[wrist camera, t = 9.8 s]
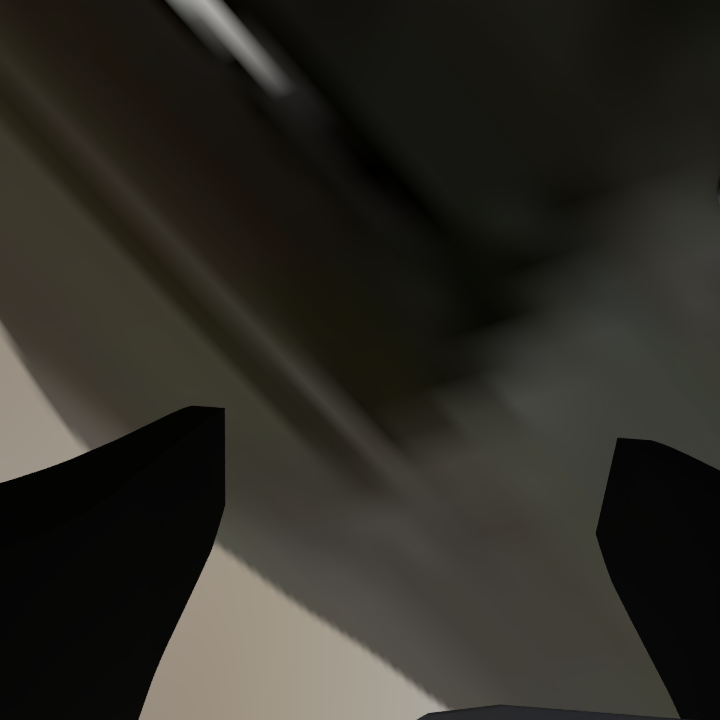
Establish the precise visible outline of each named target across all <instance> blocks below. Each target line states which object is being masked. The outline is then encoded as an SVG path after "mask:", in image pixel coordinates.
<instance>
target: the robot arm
mask: <svg viewBox="0 0 720 720" xmlns="http://www.w3.org/2000/svg"><path fill="white" fill-rule="evenodd" d="M718 197H719V203H720V191H719V196H718ZM224 507H225V408H216V407H203V406H189V407H185V408H183V409H180V410H178V411H176V412H173V413H171V414H169V415H167V416H165V417H163V418H161V419H159V420H157V421H154V422H152V423H150V424H148V425H146V426H144V427H142V428H140V429H138V430H136V431H134V432H132V433H130V434H128V435H125V436H123V437H121V438H119V439H117V440H115V441H112V442H110V443H108V444H105V445H103V446H101V447H98V448H96V449H94V450H91V451H89V452H87V453H84V454H82V455H80V456H78V457H75V458H73V459H71V460H68V461H65V462H63V463H60V464H58V465H54V466H52V467H49V468H46V469H43V470H40V471H37V472H34V473H31V474H28V475H25V476H22V477H19V478H16V479H13V480H9V481H6V482H2V483H0V720H138V719H139V716H140V714H141V711H142V708H143V705H144V702H145V699H146V696H147V693H148V690H149V687H150V685H151V682H152V679H153V677H154V674H155V672H156V669H157V667H158V665H159V662H160V660H161V657H162V655H163V653H164V651H165V648H166V646H167V644H168V642H169V640H170V638H171V636H172V634H173V631H174V629H175V627H176V625H177V623H178V621H179V619H180V617H181V614H182V612H183V610H184V608H185V606H186V604H187V602H188V600H189V598H190V596H191V593H192V591H193V589H194V587H195V585H196V583H197V581H198V579H199V576H200V574H201V572H202V570H203V568H204V566H205V563H206V561H207V559H208V557H209V555H210V552H211V550H212V547H213V544H214V541H215V538H216V534H217V531H218V528H219V525H220V521H221V518H222V514H223V511H224ZM596 536H597V539H598V542H599V546H600V549H601V552H602V555H603V558H604V561H605V564H606V567H607V570H608V573H609V575H610V578H611V581H612V583H613V585H614V587H615V589H616V591H617V593H618V595H619V597H620V599H621V601H622V603H623V605H624V607H625V609H626V611H627V613H628V615H629V617H630V619H631V621H632V623H633V625H634V627H635V629H636V631H637V633H638V634H639V636H640V638H641V640H642V642H643V644H644V646H645V648H646V650H647V652H648V654H649V656H650V658H651V659H652V661H653V663H654V665H655V667H656V669H657V671H658V673H659V675H660V677H661V679H662V681H663V683H664V685H665V686H666V688H667V690H668V692H669V694H670V696H671V699H672V701H673V703H674V705H675V707H676V709H677V712H678V714H679V716H680V718H681V719H676V718H663V717H651V716H638V715H625V714H613V713H600V712H588V711H575V710H563V709H550V708H537V707H525V706H512V705H493V706H484V707H476V708H468V709H459V710H451V711H442V712H434V713H428V714H426V715H424V716H423V717H421V718H419V719H417V720H720V470H718V469H716V468H713V467H711V466H709V465H707V464H705V463H703V462H701V461H699V460H697V459H695V458H693V457H691V456H689V455H687V454H685V453H683V452H680V451H678V450H676V449H674V448H671V447H669V446H666V445H664V444H661V443H658V442H655V441H652V440H640V439H626V438H617V442H616V447H615V451H614V455H613V460H612V464H611V469H610V473H609V477H608V482H607V486H606V491H605V495H604V499H603V504H602V508H601V513H600V517H599V521H598V526H597V530H596Z"/></svg>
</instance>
